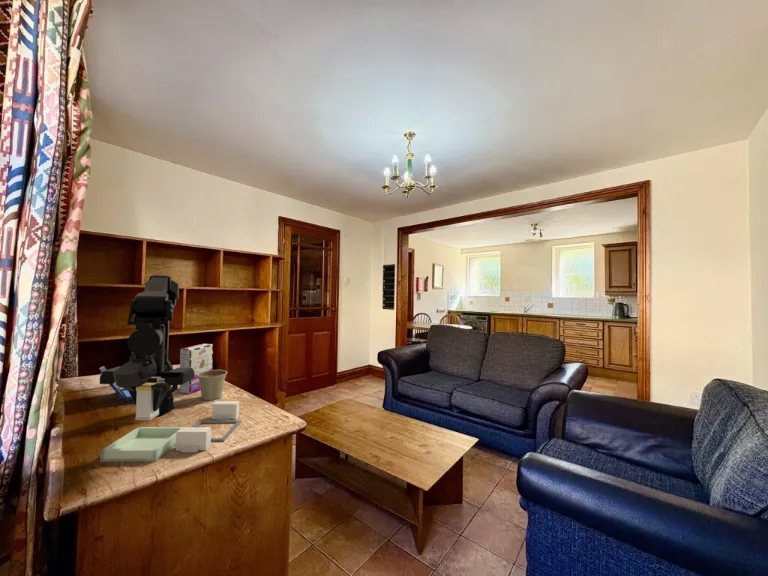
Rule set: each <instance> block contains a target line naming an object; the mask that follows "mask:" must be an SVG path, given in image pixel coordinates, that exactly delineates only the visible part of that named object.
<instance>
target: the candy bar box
mask: <svg viewBox="0 0 768 576" xmlns="http://www.w3.org/2000/svg"><path fill="white" fill-rule="evenodd" d="M213 349H214V344H213V343H211V344H210V343H201V344H197V345H192V346H191V345H190V346H188V347H184V348H180V349H179V354H180V355H179V367H181V368H192V369H193V370H194V372H195V376H194V379H192V380H190V381H188V382H186V383H184V384H182V385H179V393H180V394H188V395H190V394H193V393H196V392H199V391H201V386H200V381H199V378H198V376H197V374H199V373H201V372H204V371H210V370H213V357H214V356H213V355H214V351H213Z"/></svg>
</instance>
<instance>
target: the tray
mask: <svg viewBox="0 0 768 576" xmlns="http://www.w3.org/2000/svg"><path fill="white" fill-rule="evenodd" d="M182 427H183V426H137V427H136V428H134V429H133V430H132V431H129V432H128V433H127V434H125V435H124V436H122V437H120V438H118V439H117V440H115V441H114V442H112V443H111V444H109V445H108V446H106V447H104V448H102V449H101V450H100V457H99V458H100V459H99V462H100V463H120V462H121V463H122V462H123V463H128V462H129V463H131V462H132V463H134V462H135V463H136V462H137V463H138V462H139V463H141V462H145V463H146V462H147V463H148V462H155V463H156V462H157V461H158V460H160V458H162V457H163V456H164V455H165V454H166V453H168V452H170V450H171V449H172V448H174V447H176V432H177V431H178V430H179V429H181V428H182Z"/></svg>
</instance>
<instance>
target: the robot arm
mask: <svg viewBox="0 0 768 576" xmlns="http://www.w3.org/2000/svg"><path fill="white" fill-rule="evenodd" d="M144 283H145V284H144V291H142V292H139V293H137V294H136V295H135V297H134V299H131V300H130V306H129V312H128V317H127V323H126V324H127V326H135V330H134V331H133V332H132V333H130V335H129V336H128V339H127V341H126V344H127V348H128V350H130V355H129V360H128V362H125V363H124V364H122V365H121V366H115V367H113V368H109V369H106V371H103V373H102V374H101V373H100V376H99V385H109V384H114V383H115V382H116V385H117V386H116V387H117V388H121V389H126V390H127V391H128V392H129V393H130V395H131V397H132V399H133V401H134V402H133V403H134V405H135V407H136V399H137V391H136V387H138V386H140V385H142V384H145V383H156V384H154V385H152V386H151V388H152V389H153V391H154V394H153V411H157V410H158V408H159V415H157V416H164V415H166V414H168V413H169V412H170V411H172V410H173V409H175V408H176V407H175V405H174V400H175V399H174V395H173V393H175V391H178V388H179V386H180V385H182V384H184V383H186V382H188V381H190V380H192V379H194V376H195V372H194V370H193V369H192V368H181V367H180V366H179V367H176V368H174V365H172V362H171V361H170V360H169V342H170V341H169V337H170V333H169V332H170V321H173V314H174V309H175V306H176V304H177V300H179V298H180V288H179V286H180V284H179V283H177V282H176V281H174V280H172V276H169V275H167V274H166V275H165V274H164V275H163V274H161V275H160V274H153V275H149V279H148V280H147V281H146V282H144ZM157 416H156V417H157Z"/></svg>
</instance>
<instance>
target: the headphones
mask: <svg viewBox="0 0 768 576" xmlns="http://www.w3.org/2000/svg"><path fill="white" fill-rule="evenodd" d="M240 402H241V401H240V400H237V401H236V400H230V401H229V400H215V402H213V403H211V404H212V405H211V419H201V420H199V421H198V422H196V423H195V424H194V425H193V426H191V427H186V426H181V427H182V428H181V429H179V430H178V431H177V432H176V445H175V452H176V451H178V452H179V451H180V453H198V452H199V451H207V450H208V449H209V448H210V447H211V446H212V444H211V443H212V442H224V441H225V440H227V438H228V437H229V436H230V435H231V434H232V433H233V432H234V430H236V428H237V427H238V426H239V425H240V424H241V423H242V420H240V419H238V417H239V416H240V405H241V404H240ZM201 424H234V425H233V426H232V427H230V428H229V430H228V431H227V432H226V433H225V434H224V435H223V436H222V437H212V427H205V426H204V427H203V426H202V427H199V426H200V425H201Z"/></svg>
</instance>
